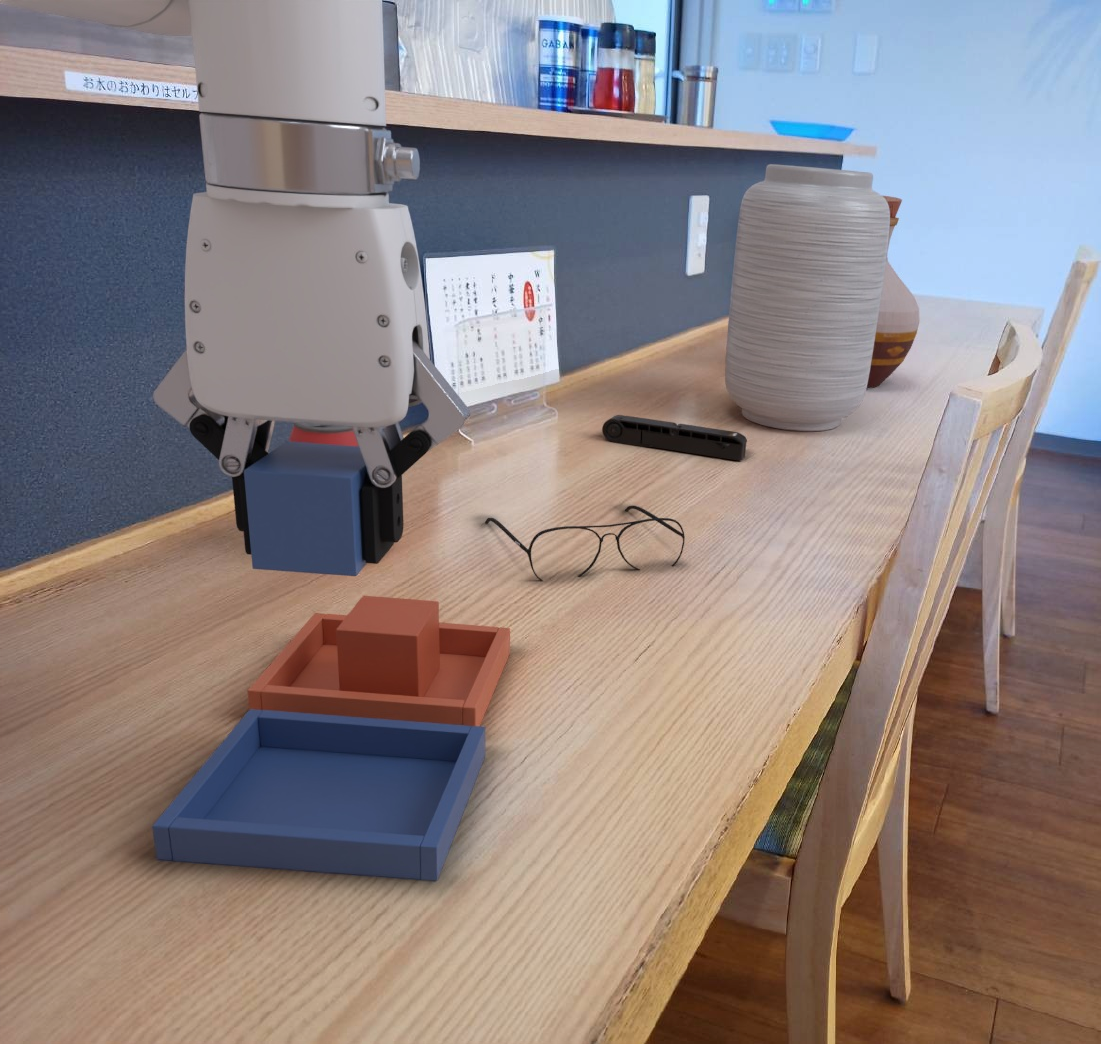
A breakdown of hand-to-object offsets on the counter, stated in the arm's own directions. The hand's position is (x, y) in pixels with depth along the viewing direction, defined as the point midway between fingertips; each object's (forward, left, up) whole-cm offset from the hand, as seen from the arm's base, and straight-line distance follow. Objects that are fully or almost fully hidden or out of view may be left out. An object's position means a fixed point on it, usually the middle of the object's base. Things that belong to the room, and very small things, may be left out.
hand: (322, 545), depth 50 cm
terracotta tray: (0, +11, -15) cm, 18 cm away
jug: (+45, +121, -15) cm, 129 cm away
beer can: (-11, +32, -15) cm, 37 cm away
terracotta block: (0, +11, -14) cm, 18 cm away
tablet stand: (+16, +72, -15) cm, 75 cm away
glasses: (+9, +38, -15) cm, 41 cm away
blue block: (0, 0, 0) cm, 0 cm away
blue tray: (+1, -2, -15) cm, 15 cm away
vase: (+32, +92, -15) cm, 98 cm away
